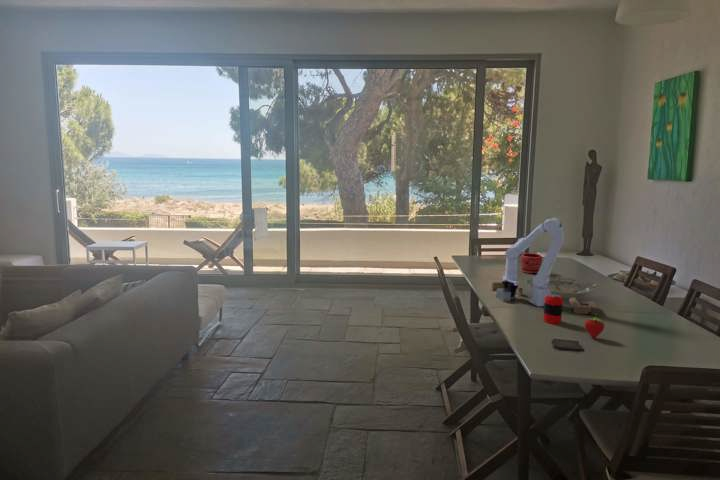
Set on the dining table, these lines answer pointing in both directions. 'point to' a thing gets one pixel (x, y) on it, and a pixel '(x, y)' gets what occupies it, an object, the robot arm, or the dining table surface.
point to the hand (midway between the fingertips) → (509, 295)
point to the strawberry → (594, 327)
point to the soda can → (553, 309)
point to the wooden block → (584, 307)
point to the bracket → (504, 294)
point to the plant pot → (531, 262)
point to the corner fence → (500, 285)
